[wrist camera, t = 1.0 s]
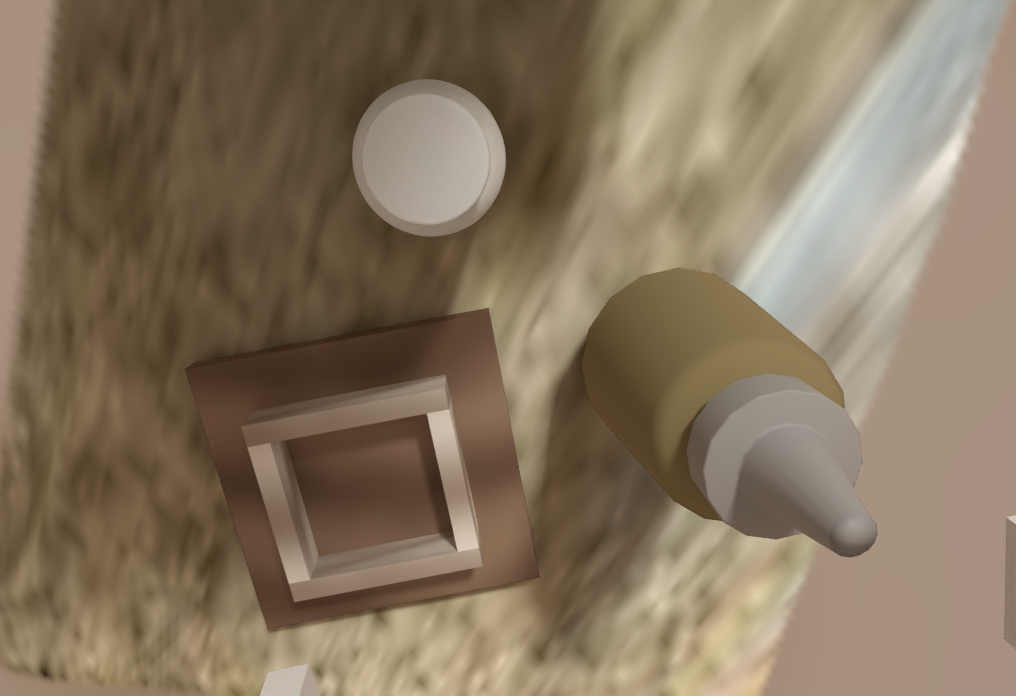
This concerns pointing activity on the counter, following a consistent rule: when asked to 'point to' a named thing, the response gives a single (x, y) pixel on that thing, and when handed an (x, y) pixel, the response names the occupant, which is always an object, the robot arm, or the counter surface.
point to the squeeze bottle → (728, 410)
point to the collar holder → (369, 467)
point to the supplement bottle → (429, 157)
